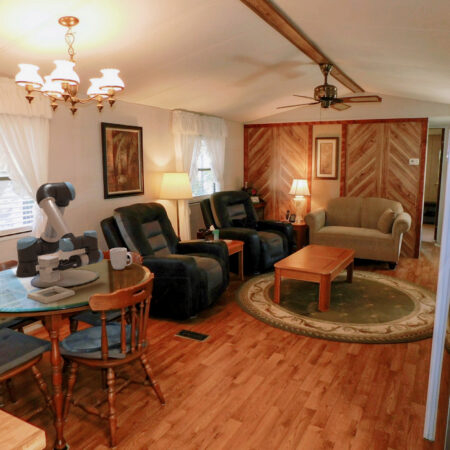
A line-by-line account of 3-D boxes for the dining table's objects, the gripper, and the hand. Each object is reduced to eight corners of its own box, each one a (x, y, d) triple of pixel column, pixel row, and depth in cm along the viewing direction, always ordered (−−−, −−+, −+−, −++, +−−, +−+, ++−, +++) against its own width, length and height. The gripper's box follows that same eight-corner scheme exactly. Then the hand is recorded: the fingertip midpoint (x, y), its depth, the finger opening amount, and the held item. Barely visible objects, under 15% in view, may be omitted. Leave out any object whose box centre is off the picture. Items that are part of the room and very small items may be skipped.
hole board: (27, 297, 225) (27, 293, 224) (56, 289, 239) (55, 285, 238) (45, 303, 215) (45, 299, 215) (74, 294, 229) (74, 291, 229)
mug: (135, 266, 286) (134, 248, 284) (129, 271, 275) (128, 251, 273) (114, 266, 288) (113, 247, 286) (107, 270, 277) (106, 250, 275)
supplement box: (39, 281, 223) (37, 258, 221) (50, 277, 230) (48, 255, 228) (50, 283, 220) (48, 259, 218) (60, 279, 227) (59, 256, 225)
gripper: (90, 269, 233) (53, 279, 215) (67, 264, 245) (30, 273, 227) (89, 256, 232) (52, 265, 214) (66, 252, 244) (29, 260, 226)
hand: (41, 269), depth 220 cm, fingers closed on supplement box, 8 cm apart
